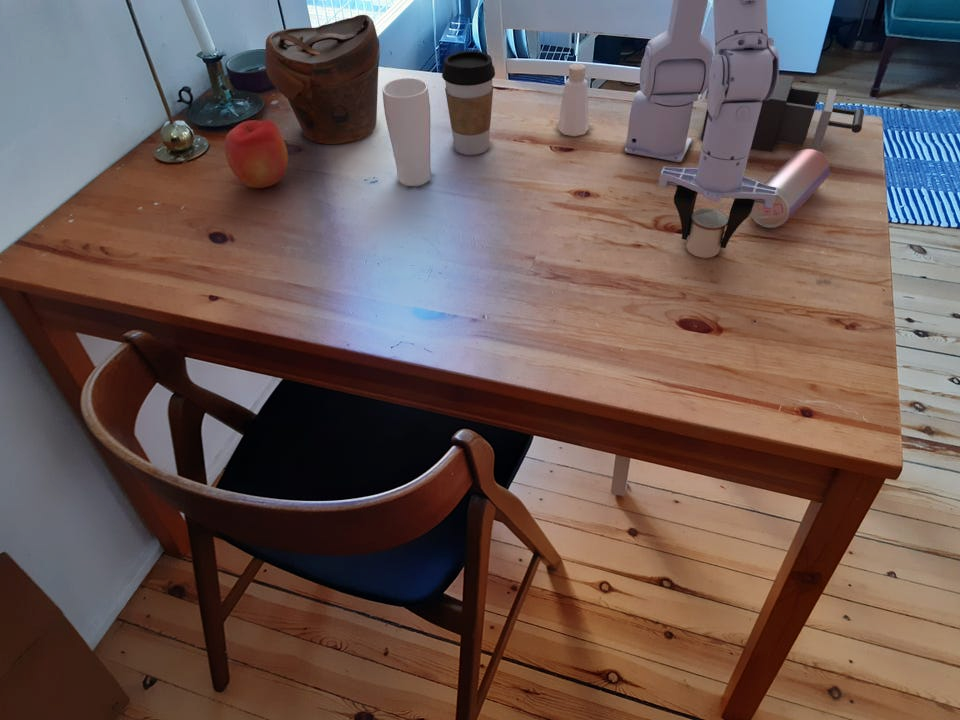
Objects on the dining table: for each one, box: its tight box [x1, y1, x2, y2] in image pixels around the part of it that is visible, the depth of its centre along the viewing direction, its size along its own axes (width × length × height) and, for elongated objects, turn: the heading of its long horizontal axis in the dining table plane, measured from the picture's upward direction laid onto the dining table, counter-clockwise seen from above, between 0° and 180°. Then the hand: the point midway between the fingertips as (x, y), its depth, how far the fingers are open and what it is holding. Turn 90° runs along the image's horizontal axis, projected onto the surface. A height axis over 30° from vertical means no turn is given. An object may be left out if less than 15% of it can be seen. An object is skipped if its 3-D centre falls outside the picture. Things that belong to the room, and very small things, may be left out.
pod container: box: [686, 207, 729, 259], centre depth 96 cm, size 5×5×5 cm
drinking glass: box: [381, 77, 432, 187], centre depth 108 cm, size 7×7×15 cm
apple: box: [224, 119, 289, 189], centre depth 111 cm, size 10×10×10 cm
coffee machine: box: [700, 74, 795, 152], centre depth 118 cm, size 12×10×9 cm
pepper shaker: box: [557, 62, 590, 137], centre depth 120 cm, size 5×5×11 cm
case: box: [264, 14, 381, 145], centre depth 120 cm, size 18×20×18 cm
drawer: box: [775, 86, 865, 152], centre depth 115 cm, size 15×8×7 cm, turn 66°
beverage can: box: [749, 148, 831, 229], centre depth 103 cm, size 6×6×15 cm
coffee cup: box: [441, 50, 496, 156], centre depth 115 cm, size 8×8×15 cm
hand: (704, 239), depth 97 cm, fingers closed on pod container, 4 cm apart
